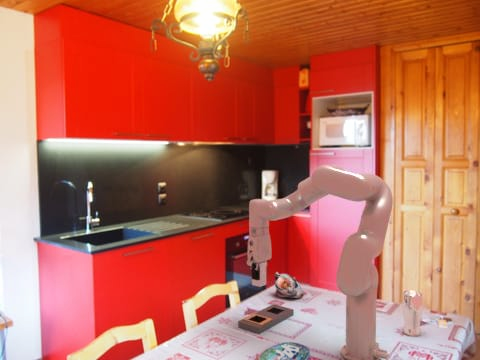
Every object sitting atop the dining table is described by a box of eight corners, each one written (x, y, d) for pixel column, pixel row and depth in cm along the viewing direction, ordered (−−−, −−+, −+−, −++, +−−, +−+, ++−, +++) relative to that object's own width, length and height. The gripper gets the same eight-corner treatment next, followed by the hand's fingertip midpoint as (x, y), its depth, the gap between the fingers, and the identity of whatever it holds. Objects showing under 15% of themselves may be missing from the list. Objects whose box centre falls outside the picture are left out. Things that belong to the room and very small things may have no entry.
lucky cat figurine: (309, 297, 188) (304, 275, 182) (288, 310, 185) (282, 288, 178) (291, 280, 201) (286, 259, 195) (271, 292, 197) (265, 271, 191)
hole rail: (293, 316, 165) (293, 308, 165) (259, 335, 147) (259, 327, 147) (273, 311, 172) (273, 303, 172) (238, 328, 153) (238, 320, 153)
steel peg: (266, 284, 155) (266, 261, 155) (260, 286, 152) (260, 263, 151) (258, 282, 157) (258, 259, 157) (251, 284, 154) (251, 261, 154)
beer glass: (410, 337, 145) (411, 297, 144) (398, 330, 151) (398, 291, 151) (426, 335, 147) (427, 295, 146) (413, 328, 153) (414, 289, 153)
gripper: (253, 235, 145) (253, 285, 146) (279, 229, 158) (279, 275, 158) (237, 233, 150) (237, 281, 151) (264, 227, 163) (264, 272, 163)
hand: (259, 277), depth 154 cm, fingers closed on steel peg, 4 cm apart
